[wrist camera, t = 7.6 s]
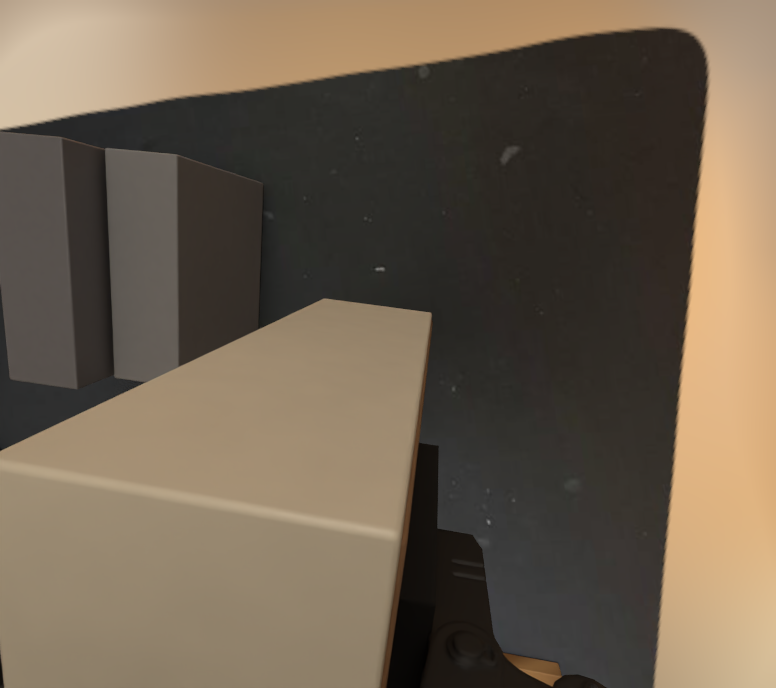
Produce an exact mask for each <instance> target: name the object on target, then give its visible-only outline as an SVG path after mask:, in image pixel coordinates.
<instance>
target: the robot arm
mask: <svg viewBox="0 0 776 688" xmlns="http://www.w3.org/2000/svg"><path fill="white" fill-rule="evenodd" d="M437 507H438V446H435V445H429V444H422V443H419V446H418V454H417V463H416V472H415V480H414V489H413V498H412V507H411V515H410V524H409V533H408V541H407V549H406V556H405V562H404V569H403V576H402V583H401V590H400V597H399V604H398V611H397V617H396V624H395V631H394V638H393V645H392V652H391V659H390V666H389V672H388V679H387V686H386V688H606V687H605V686H603V685H601V684H600V683H598V682H597V681H595V680H593V679H590V678H587V677H584V676H581V675H564V676H562V677H561V678H559V679H558V680H556V681H555V682H554V684H553V686H550V685H548V684H546V683H544V682H542V681H540V680H538V679H536V678H534V677H532V676H530V675H528V674H526V673H525V672H523V671H521V670H520V669H518V668H517V667H516V666H515V665H513V664H512V663H511V662H510V661H509V660H508V659H507V658H506V657H505V655H504V654H503V652H502V650H501V648H500V646H499V644H498V643H497V641H496V639H495V638H494V634H493V629H492V621H491V614H490V606H489V598H488V591H487V583H486V576H485V568H484V560H483V553H482V549H481V547H480V546H479V544H478V543H477V541H476V540H475V538H474V537H473V535H470V534H464V533H459V532H453V531H447V530H442V529H437ZM0 688H4V682H3V673H2V663H1V654H0Z"/></svg>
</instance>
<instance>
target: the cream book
mask: <svg viewBox="0 0 776 688" xmlns="http://www.w3.org/2000/svg"><path fill="white" fill-rule="evenodd" d="M431 319H432V314H431V313H429V312H422V311H414V310H407V309H399V308H392V307H385V306H377V305H370V304H362V303H355V302H347V301H340V300H332V299H322V300H320V301H318V302H316V303H314V304H312V305H310V306H307V307H305V308H303V309H301V310H299V311H297V312H295V313H293V314H290V315H288V316H286V317H284V318H282V319H280V320H278V321H276V322H273V323H271V324H269V325H267V326H265V327H263V328H261V329H259V330H256V331H254V332H252V333H250V334H248V335H246V336H244V337H242V338H239V339H237V340H235V341H233V342H231V343H229V344H227V345H225V346H222V347H220V348H218V349H216V350H214V351H212V352H210V353H208V354H205V355H203V356H201V357H199V358H197V359H195V360H193V361H191V362H188V363H186V364H184V365H182V366H180V367H178V368H176V369H174V370H171V371H169V372H167V373H165V374H163V375H161V376H159V377H157V378H155V379H152V380H150V381H148V382H146V383H144V384H142V385H140V386H138V387H135V388H133V389H131V390H129V391H127V392H125V393H123V394H121V395H118V396H116V397H114V398H112V399H110V400H108V401H106V402H104V403H101V404H99V405H97V406H95V407H93V408H91V409H89V410H87V411H84V412H82V413H80V414H78V415H76V416H74V417H72V418H70V419H67V420H65V421H63V422H61V423H59V424H57V425H55V426H53V427H50V428H48V429H46V430H44V431H42V432H40V433H38V434H36V435H33V436H31V437H29V438H27V439H25V440H23V441H21V442H19V443H16V444H14V445H12V446H10V447H8V448H6V449H4V450H2V451H0V654H1V663H2V673H3V682H4V688H386V686H387V679H388V672H389V666H390V659H391V652H392V645H393V638H394V631H395V624H396V617H397V611H398V604H399V597H400V590H401V583H402V576H403V569H404V562H405V556H406V549H407V541H408V533H409V524H410V515H411V507H412V498H413V489H414V480H415V472H416V463H417V454H418V446H419V437H420V428H421V419H422V411H423V402H424V393H425V385H426V376H427V367H428V358H429V350H430V341H431V332H432V324H433V321H432V320H431Z"/></svg>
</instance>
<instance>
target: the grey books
mask: <svg viewBox="0 0 776 688" xmlns="http://www.w3.org/2000/svg"><path fill="white" fill-rule="evenodd" d="M262 208H263V183H261V182H258V181H255V180H252V179H249V178H246V177H243V176H240V175H237V174H234V173H231V172H228V171H225V170H222V169H219V168H216V167H213V166H210V165H207V164H204V163H201V162H197V161H194V160H191V159H188V158H185V157H182V156H179V155H176V154H166V153H155V152H144V151H133V150H122V149H111V148H106V149H102V148H98V147H95V146H91V145H87V144H84V143H80V142H77V141H73V140H69V139H66V138H62V137H53V136H42V135H31V134H20V133H9V132H0V284H1V294H2V304H3V314H4V324H5V334H6V344H7V354H8V364H9V374H10V379H11V380H16V381H23V382H30V383H37V384H44V385H51V386H58V387H64V388H71V389H79V388H82V387H84V386H87V385H89V384H92V383H94V382H97V381H99V380H102V379H104V378H107V377H109V376H112V375H115V378H119V379H126V380H133V381H141V382H148V381H150V380H152V379H155V378H157V377H159V376H161V375H163V374H165V373H167V372H169V371H171V370H174V369H176V368H178V367H180V366H182V365H184V364H186V363H188V362H191V361H193V360H195V359H197V358H199V357H201V356H203V355H205V354H208V353H210V352H212V351H214V350H216V349H218V348H220V347H222V346H225V345H227V344H229V343H231V342H233V341H235V340H237V339H239V338H242V337H244V336H246V335H248V334H250V333H252V332H254V331H256V330H258V323H259V294H260V265H261V236H262Z"/></svg>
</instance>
